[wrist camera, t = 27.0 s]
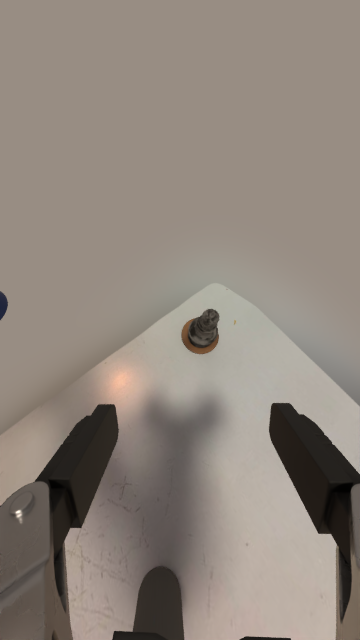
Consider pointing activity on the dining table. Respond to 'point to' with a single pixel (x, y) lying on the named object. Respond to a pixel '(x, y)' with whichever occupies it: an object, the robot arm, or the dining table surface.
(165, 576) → the bottle
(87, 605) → the dining table surface
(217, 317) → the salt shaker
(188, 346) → the cork coaster
